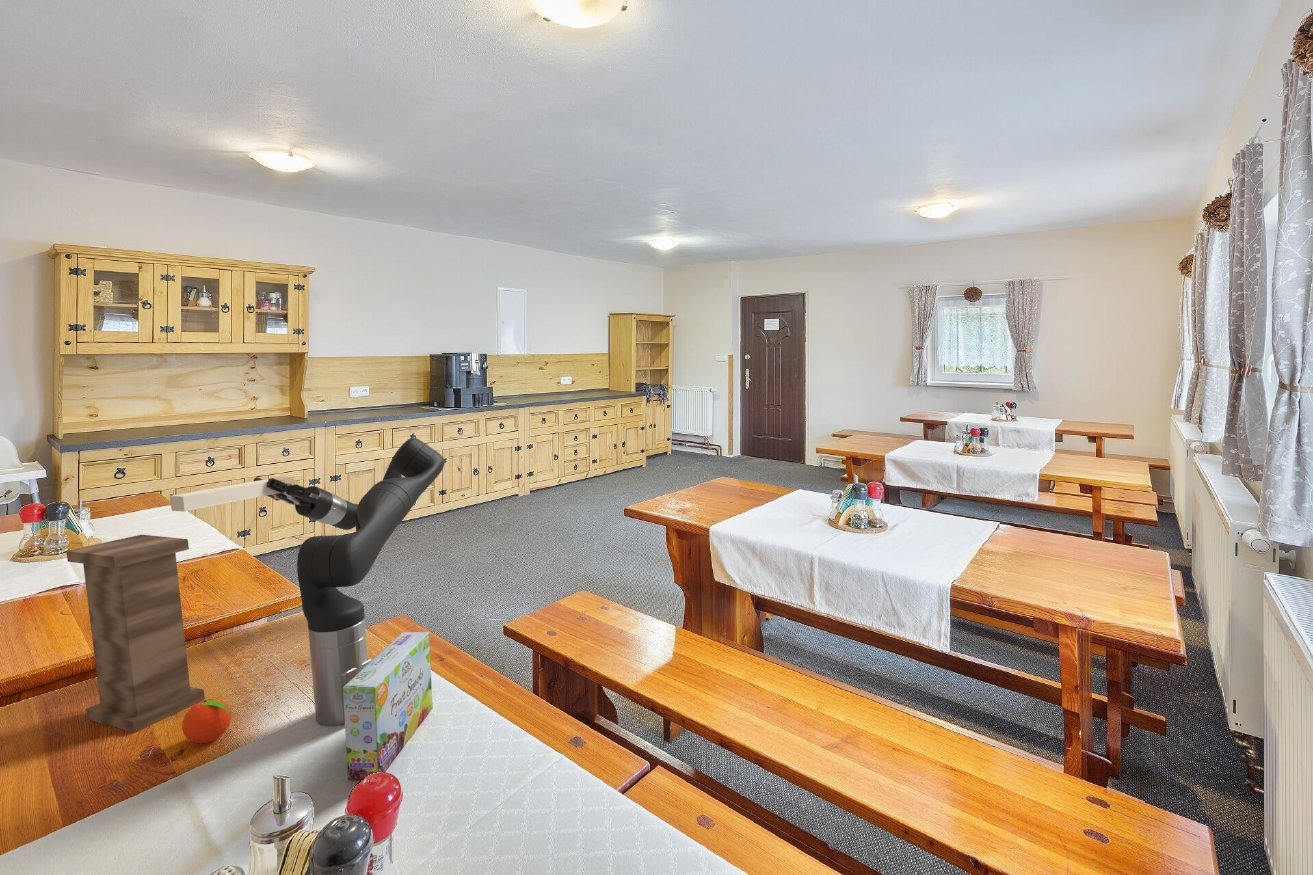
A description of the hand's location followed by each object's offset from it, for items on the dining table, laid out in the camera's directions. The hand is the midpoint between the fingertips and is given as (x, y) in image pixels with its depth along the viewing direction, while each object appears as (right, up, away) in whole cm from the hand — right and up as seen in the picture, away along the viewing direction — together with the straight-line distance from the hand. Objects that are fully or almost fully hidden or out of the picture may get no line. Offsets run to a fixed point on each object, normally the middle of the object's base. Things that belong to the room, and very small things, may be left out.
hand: (261, 482), depth 138 cm
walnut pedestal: (-8, -42, -21) cm, 48 cm away
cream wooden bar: (-2, -3, -5) cm, 6 cm away
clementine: (+12, -42, -32) cm, 55 cm away
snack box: (+45, -42, -34) cm, 70 cm away
